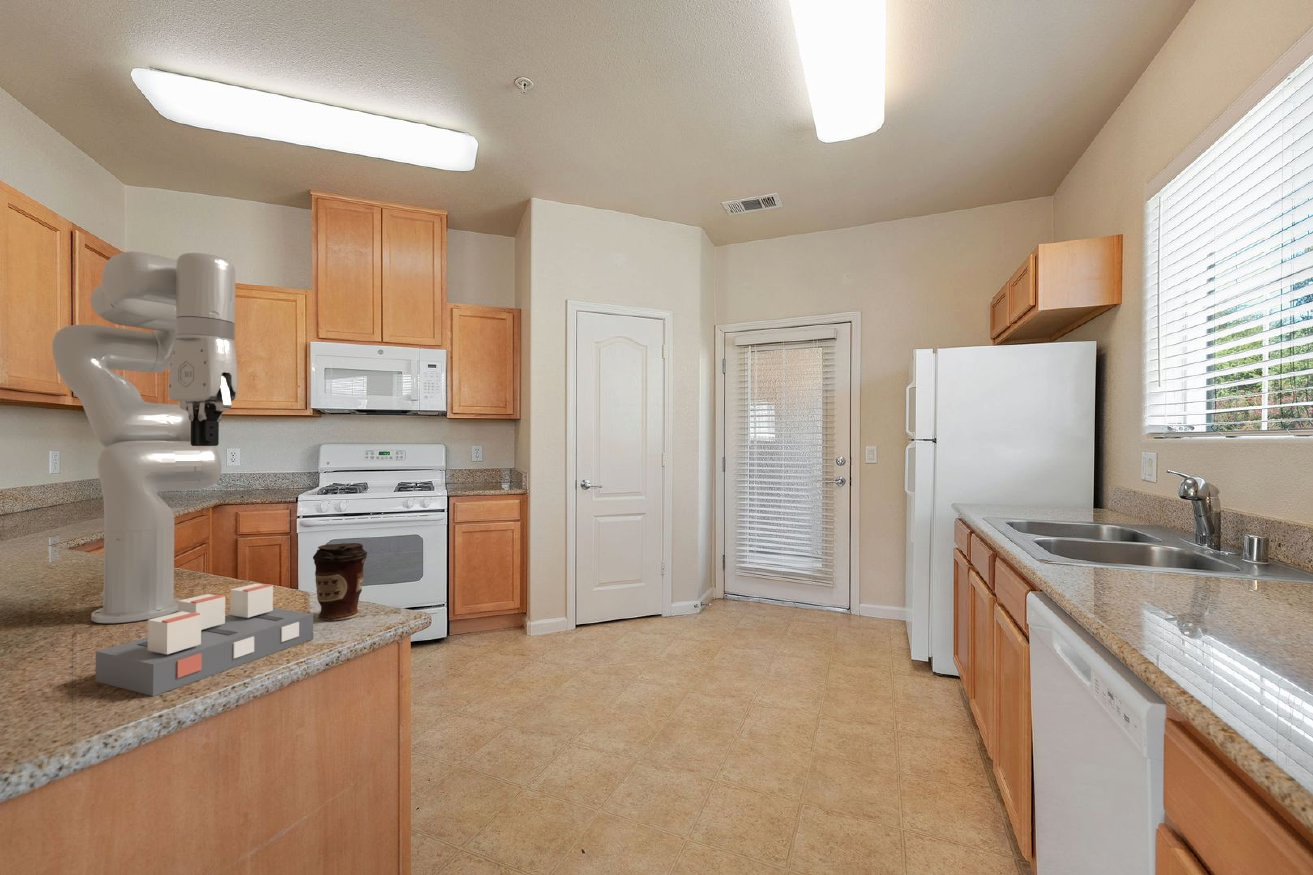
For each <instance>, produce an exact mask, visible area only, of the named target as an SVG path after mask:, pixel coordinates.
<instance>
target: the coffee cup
mask: <svg viewBox="0 0 1313 875" xmlns="http://www.w3.org/2000/svg"><path fill="white" fill-rule="evenodd" d="M367 556H368V552H367V551H366V550H364V545H363V544H362V543H359V542H348V543H347V542H343V543H328V544H322V545H319V546H318V547H317V550H316V552H315V553H314V555H313V556H312V559H313V562H314V563H313V564H314V565H315V571H314V572H315V573H314V575H315V587H316V595H317V596H316V598H317V601H318V604H319V605H320V612H319V614H318V618H319V619H320V620H322V621H323V620H324V621H338V620H339V621H342V620H347V619H348V620H349V619H352V618H356V617H358V616H359V615H360V611H359V610H358V604H359V600H360V595H361V593H362V590H363V589H362V587H363V583H364V582H363V581H364V565H365V561H366V560H367Z"/></svg>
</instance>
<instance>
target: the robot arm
mask: <svg viewBox="0 0 1313 875" xmlns="http://www.w3.org/2000/svg"><path fill="white" fill-rule="evenodd" d="M90 306H91V307H92V309H93V310H94V313H96V315H98V316H99V317H100V318H102V319H103V320H105V321H106V322H108V323H111V324H114V325H119V326H123V327H131V328H138V329H146V330H153V331H145V330H144V331H143V330H137V329H136V330H135V329H128V328H123V327H121V328H120V327H115V326H114V327H113V326H107V325H99V324H73V325H68V326H65V327H63V328H61V329H58V331H57V332H56V333H55V335H54V336H53V339H52V349H51V350H52V356H53V361H54V365H55V367H56V370H57V372H58V374H59V377H60V378H61V379H62V381H63V382H64V383H65V385H66V386H67V387H68V389H70V390H71V391H72V392H73V394H74V395H75V396H76V397H77V398H78V399H79V400H78V401H80V402H81V405H82V407H83V410H84V412H85V415H86V417H87V420H88V422H89V425H90V427H91V429H92V431H93V434H94V436H95V438H96V439H97V442H99V444H100V445H101V446H103V447H104V449H103V450H102V451H100V453H99V455H98V459H97V473H98V477H99V482H100V487H101V492H102V499H103V512H104V513H103V514H104V515H103V516H104V517H103V518H104V521H103V523H104V524H103V525H104V526H103V527H104V528H103V530H104V531H103V532H104V533H103V534H104V536H103V554H104V555H103V591H102V592H101V593H100V594H99V596H100V599H102V600H103V606H102V607H100V608H98V609H96V610H94V611H92V613H90V614H91V615H90V620H91V621H92V622H94V623H98V624H121V623H133V622H140V621H145V620H150V619H154V618H158V617H162V616H166V615H170V614H174V613H177V612H178V601H180V600H184V599H182V598H180V597H175V596H174V594H175V592H174V591H175V590H174V586H175V515H174V512H173V510H172V508H171V507H170V506H169V505H168V504H167V503H166V502H165V501H164V500H163V499H162V498H161V497H160V496H159V495H158V493H163V492H174V491H175V492H177V491H192V490H201V489H206V488H209V487H211V486H214V485H215V484H216V483H217V482H218V480H220V477H221V475H222V460H221V457H220V453H219V451H218V449H217V446H219V439H220V438H219V435H220V434H219V430H220V429H219V428H220V422H221V420H222V416H223V415H222V414H223V413H224V412H225V411H227V410H229V409H231V408H232V402H233V401H235V400H236V399H237V397H238V389H239V388H238V387H239V376H238V361H237V351H236V346H235V343H236V342H235V337H236V329H235V328H236V269H235V266H234V264H233V263H232V262H231V261H230V260H228V259H225V258H223V257H220V256H218V255H215V254H214V255H213V254H209V253H208V254H207V253H202V252H187V253H183V254H181V255H179V256H178V257H177V259H174V258H171V257H166V256H161V255H155V254H152V253H146V252H143V251H132V250H131V251H124V252H121V253H119V254H116V255H113V256H112V257H110V258H109V259H108V260H107V261H106V263H105V265H104V267H103V270H102V274H101V284H100V285H98V286H97V287H95V289H94V290H93V291H92V293H91V295H90ZM115 370H116V371H125V372H126V371H128V372H139V373H150V374H156V373H157V374H158V373H159V374H160V373H164V372H166V371H168V370H169V374H168V389H167V391H168V392H167V393H168V398H169V399H170V400H171V401H174V402H180V403H179V404H172V403H156V402H155V403H154V402H149V401H145V400H143V398H142V395H141V393H140V392H139V389H138V388H137V387H136V386H135V385H134V384H133V383H132V382H130V381H129V380H128V379H126V378H125V377H124V376H122V375H121V374H118V373H116V372H115Z"/></svg>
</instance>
